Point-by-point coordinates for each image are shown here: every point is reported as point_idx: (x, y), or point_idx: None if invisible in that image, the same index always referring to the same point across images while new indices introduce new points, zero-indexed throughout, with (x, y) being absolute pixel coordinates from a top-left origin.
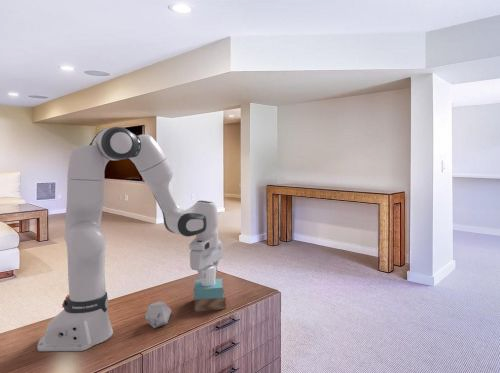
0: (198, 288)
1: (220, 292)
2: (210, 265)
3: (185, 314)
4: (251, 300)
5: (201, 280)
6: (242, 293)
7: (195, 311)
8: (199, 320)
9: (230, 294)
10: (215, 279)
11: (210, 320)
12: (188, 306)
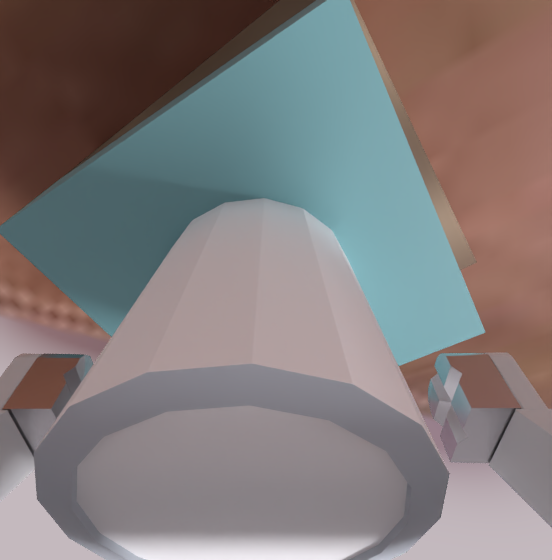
0: (58, 261)
1: None
2: (374, 508)
3: (7, 105)
4: (415, 387)
5: (150, 279)
6: (534, 307)
7: None
8: (14, 258)
9: (508, 241)
10: (437, 287)
11: (61, 312)
12: (147, 19)
